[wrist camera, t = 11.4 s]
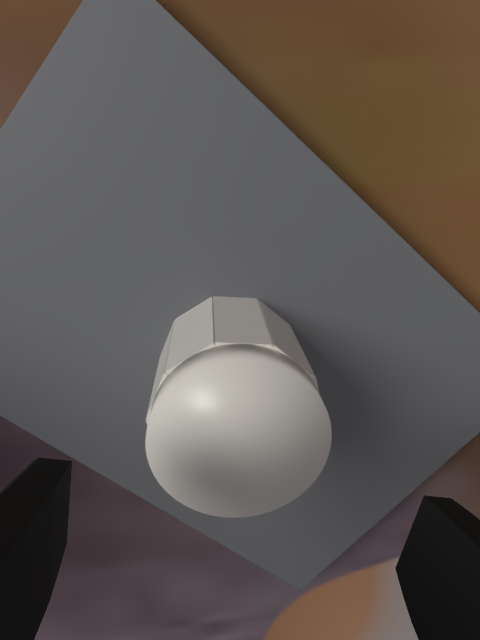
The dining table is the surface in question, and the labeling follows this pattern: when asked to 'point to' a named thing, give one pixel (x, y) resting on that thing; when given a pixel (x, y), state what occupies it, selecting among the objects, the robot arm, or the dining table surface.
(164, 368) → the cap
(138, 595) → the dining table surface
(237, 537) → the post board
